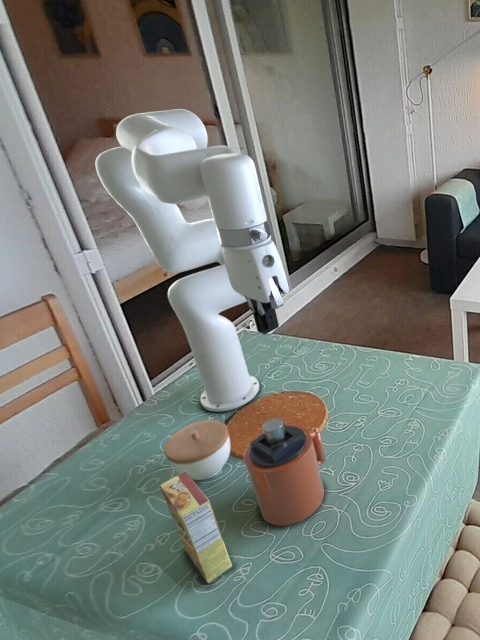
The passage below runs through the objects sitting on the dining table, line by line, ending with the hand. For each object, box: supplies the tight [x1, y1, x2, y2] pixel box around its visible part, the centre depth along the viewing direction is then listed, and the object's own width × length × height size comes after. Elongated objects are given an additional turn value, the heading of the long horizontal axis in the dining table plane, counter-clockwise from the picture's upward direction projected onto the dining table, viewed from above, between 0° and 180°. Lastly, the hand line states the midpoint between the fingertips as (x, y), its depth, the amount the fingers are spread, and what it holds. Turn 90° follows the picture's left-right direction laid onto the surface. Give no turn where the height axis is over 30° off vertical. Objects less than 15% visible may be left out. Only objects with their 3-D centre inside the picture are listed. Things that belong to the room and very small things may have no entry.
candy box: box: [159, 471, 233, 584], centre depth 79 cm, size 9×4×15 cm, turn 50°
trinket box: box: [163, 419, 232, 481], centre depth 97 cm, size 11×11×9 cm
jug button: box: [262, 418, 286, 445], centre depth 85 cm, size 3×3×3 cm
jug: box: [243, 423, 327, 527], centre depth 90 cm, size 11×14×15 cm
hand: (268, 329), depth 89 cm, fingers closed
